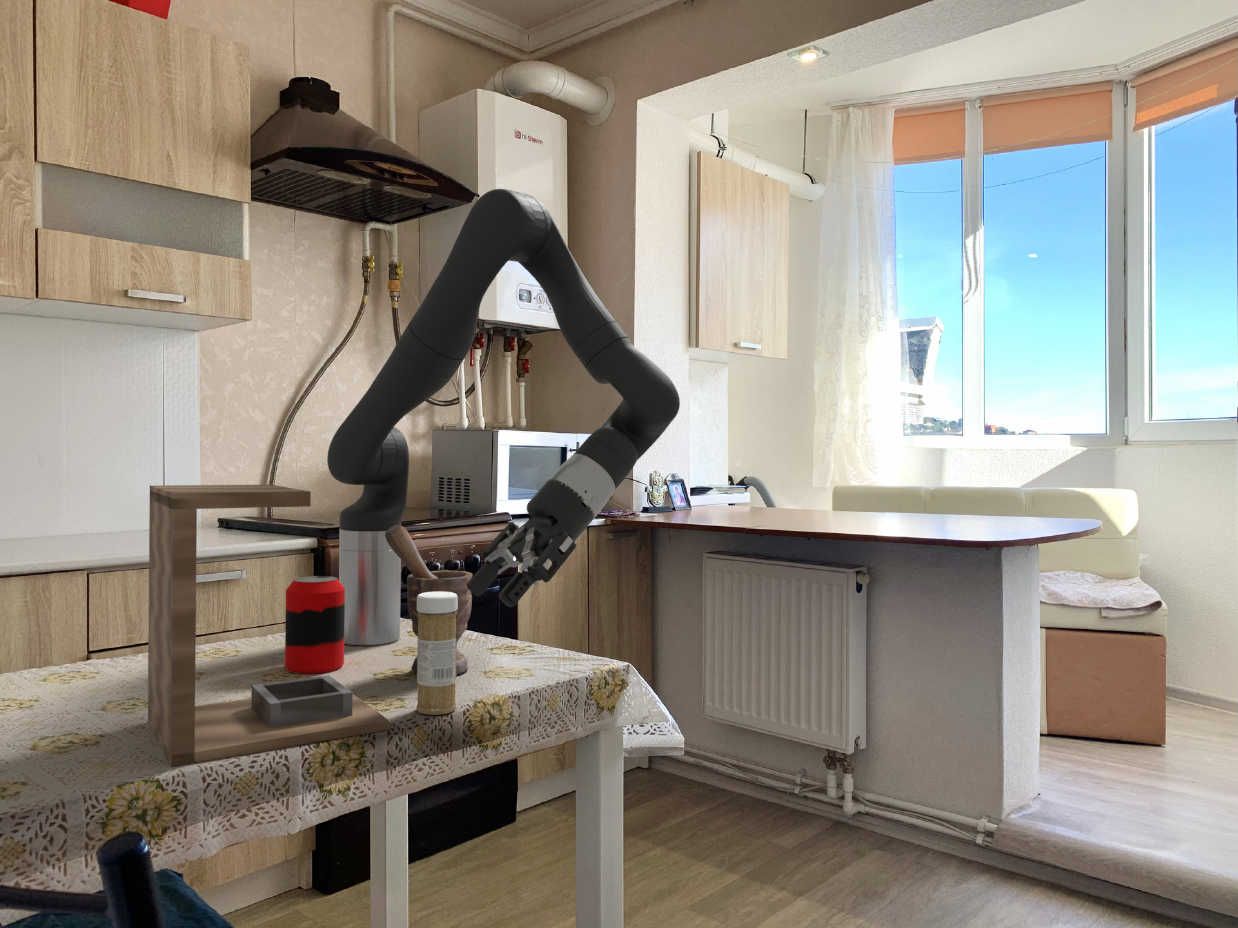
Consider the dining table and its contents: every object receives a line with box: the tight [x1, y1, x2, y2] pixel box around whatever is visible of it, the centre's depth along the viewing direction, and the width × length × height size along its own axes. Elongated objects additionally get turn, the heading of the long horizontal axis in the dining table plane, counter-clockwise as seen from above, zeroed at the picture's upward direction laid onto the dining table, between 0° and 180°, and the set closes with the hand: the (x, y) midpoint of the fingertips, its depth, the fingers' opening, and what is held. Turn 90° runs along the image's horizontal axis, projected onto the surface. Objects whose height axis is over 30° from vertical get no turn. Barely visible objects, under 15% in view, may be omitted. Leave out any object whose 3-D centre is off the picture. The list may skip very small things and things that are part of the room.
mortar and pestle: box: [385, 524, 474, 676], centre depth 120 cm, size 12×9×20 cm
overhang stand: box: [147, 484, 390, 767], centre depth 96 cm, size 16×21×26 cm
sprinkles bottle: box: [415, 591, 458, 716], centre depth 103 cm, size 5×5×14 cm
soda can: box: [284, 575, 345, 675], centre depth 122 cm, size 8×8×12 cm
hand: (487, 596), depth 107 cm, fingers open, 8 cm apart
